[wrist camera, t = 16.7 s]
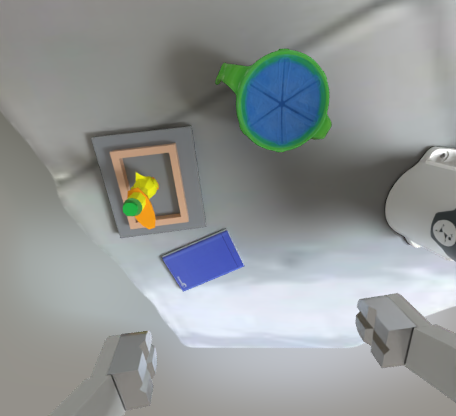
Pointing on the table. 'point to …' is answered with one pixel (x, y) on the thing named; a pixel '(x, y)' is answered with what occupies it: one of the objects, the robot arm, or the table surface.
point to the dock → (154, 167)
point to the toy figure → (142, 200)
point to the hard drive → (203, 260)
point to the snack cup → (280, 99)
